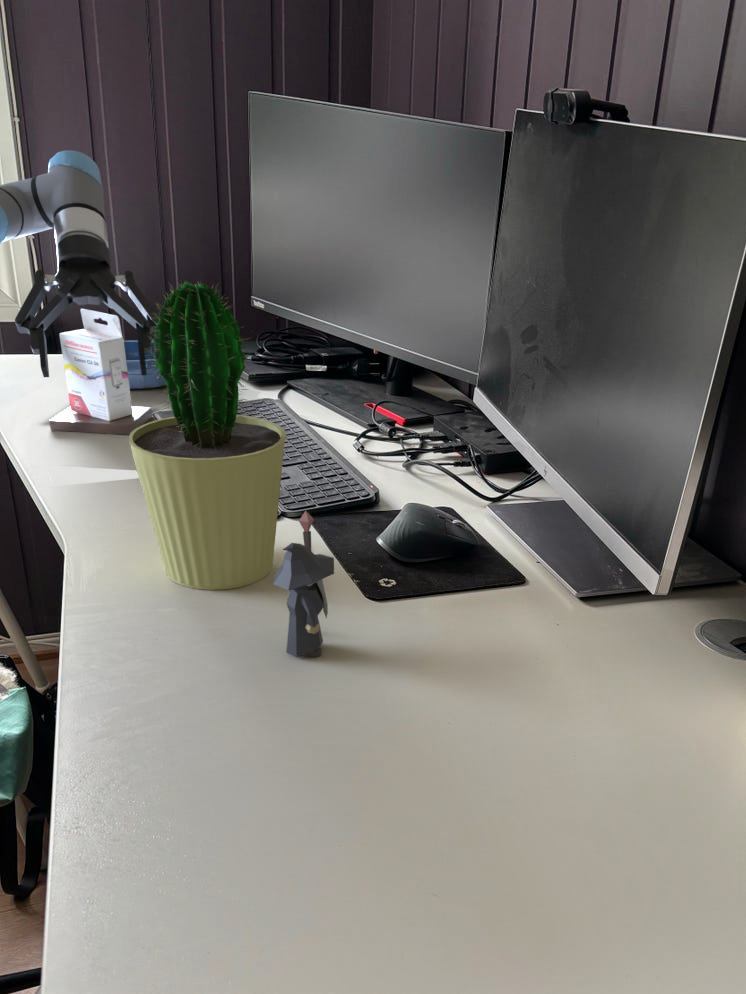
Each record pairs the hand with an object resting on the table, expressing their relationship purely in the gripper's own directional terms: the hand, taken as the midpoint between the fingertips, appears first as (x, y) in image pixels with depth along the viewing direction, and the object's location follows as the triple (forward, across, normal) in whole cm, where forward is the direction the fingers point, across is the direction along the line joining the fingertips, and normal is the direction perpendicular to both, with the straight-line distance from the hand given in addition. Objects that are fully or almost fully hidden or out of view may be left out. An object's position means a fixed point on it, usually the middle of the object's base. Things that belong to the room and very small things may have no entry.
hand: (95, 371), depth 141 cm
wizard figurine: (+58, -18, +46) cm, 76 cm away
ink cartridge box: (+3, 0, -7) cm, 8 cm away
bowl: (-15, -6, -26) cm, 31 cm away
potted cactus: (+44, -12, +32) cm, 56 cm away
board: (+4, 0, -8) cm, 9 cm away
